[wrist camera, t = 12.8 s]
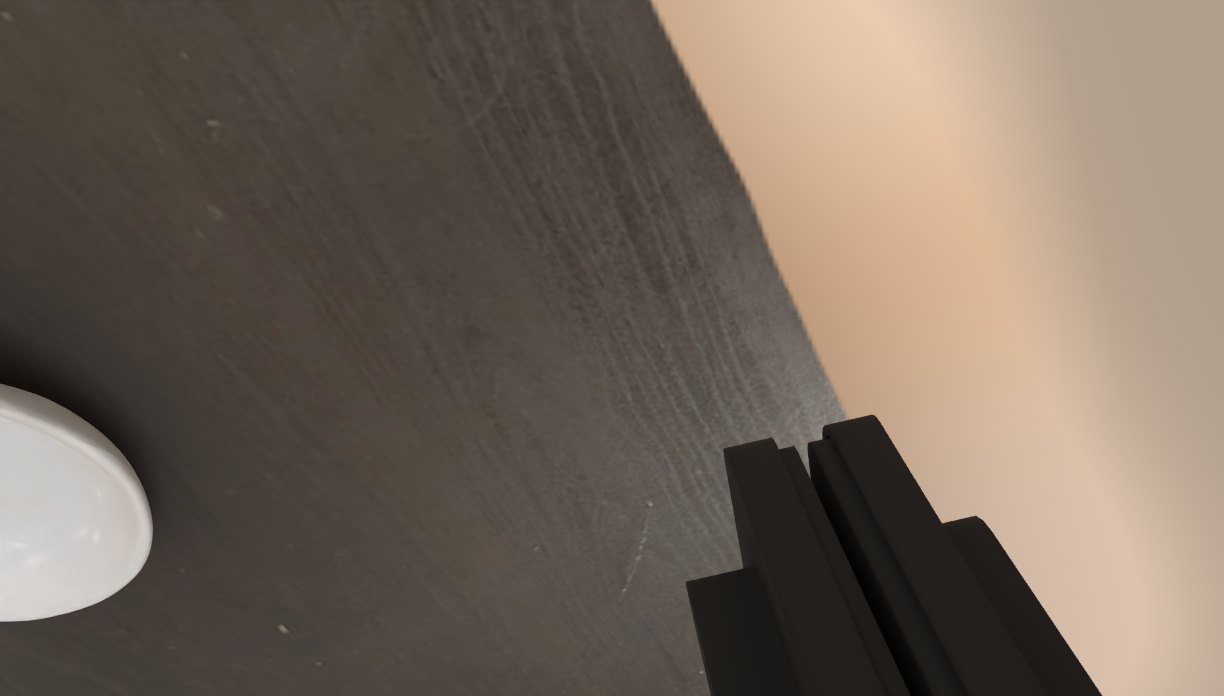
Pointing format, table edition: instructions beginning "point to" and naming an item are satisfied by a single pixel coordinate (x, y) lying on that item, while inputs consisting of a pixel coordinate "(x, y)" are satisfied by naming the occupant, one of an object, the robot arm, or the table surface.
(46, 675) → the table surface
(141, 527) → the spoon rest
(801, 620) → the robot arm
